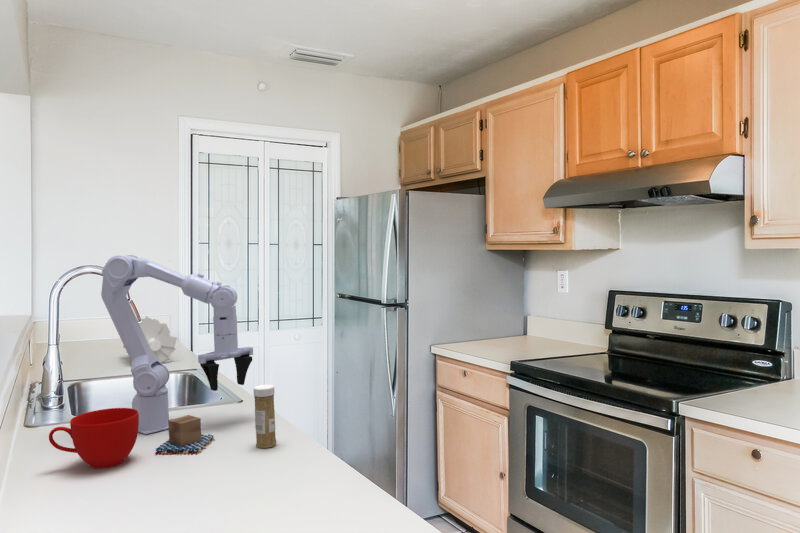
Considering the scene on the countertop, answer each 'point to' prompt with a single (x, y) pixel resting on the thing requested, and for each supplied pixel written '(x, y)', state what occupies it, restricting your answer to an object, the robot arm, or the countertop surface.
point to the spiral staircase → (158, 338)
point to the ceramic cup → (102, 436)
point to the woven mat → (185, 446)
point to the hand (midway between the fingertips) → (227, 387)
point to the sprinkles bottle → (264, 416)
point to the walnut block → (184, 430)
